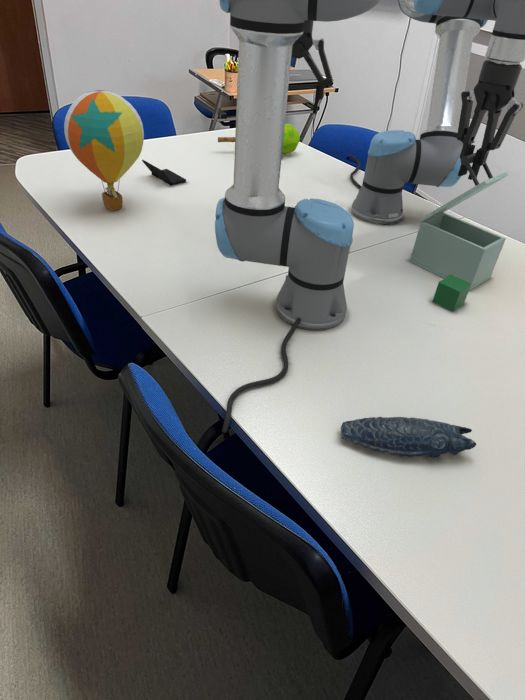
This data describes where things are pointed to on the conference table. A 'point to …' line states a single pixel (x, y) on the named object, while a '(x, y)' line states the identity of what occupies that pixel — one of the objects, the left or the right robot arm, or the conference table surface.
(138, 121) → the toy
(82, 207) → the conference table surface
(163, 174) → the black angular piece
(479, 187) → the lid
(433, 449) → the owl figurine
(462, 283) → the block
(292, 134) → the decorative tree
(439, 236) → the chest
